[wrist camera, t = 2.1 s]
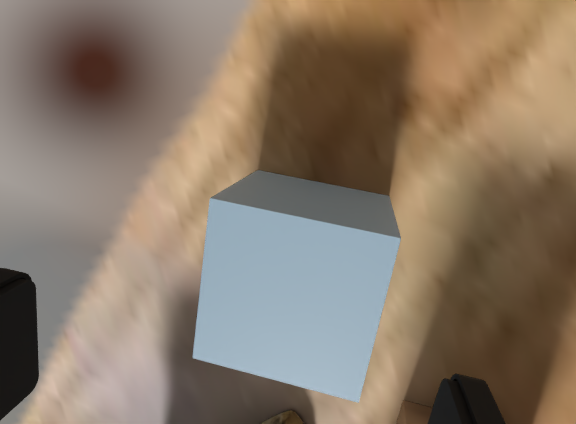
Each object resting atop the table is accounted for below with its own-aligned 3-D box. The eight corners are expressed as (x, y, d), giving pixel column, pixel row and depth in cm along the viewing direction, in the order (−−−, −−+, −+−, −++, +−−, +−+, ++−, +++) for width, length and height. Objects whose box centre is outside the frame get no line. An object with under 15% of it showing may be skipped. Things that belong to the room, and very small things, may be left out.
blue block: (389, 195, 18) (401, 237, 12) (360, 314, 19) (358, 402, 13) (257, 169, 18) (209, 198, 13) (241, 286, 20) (192, 357, 14)
